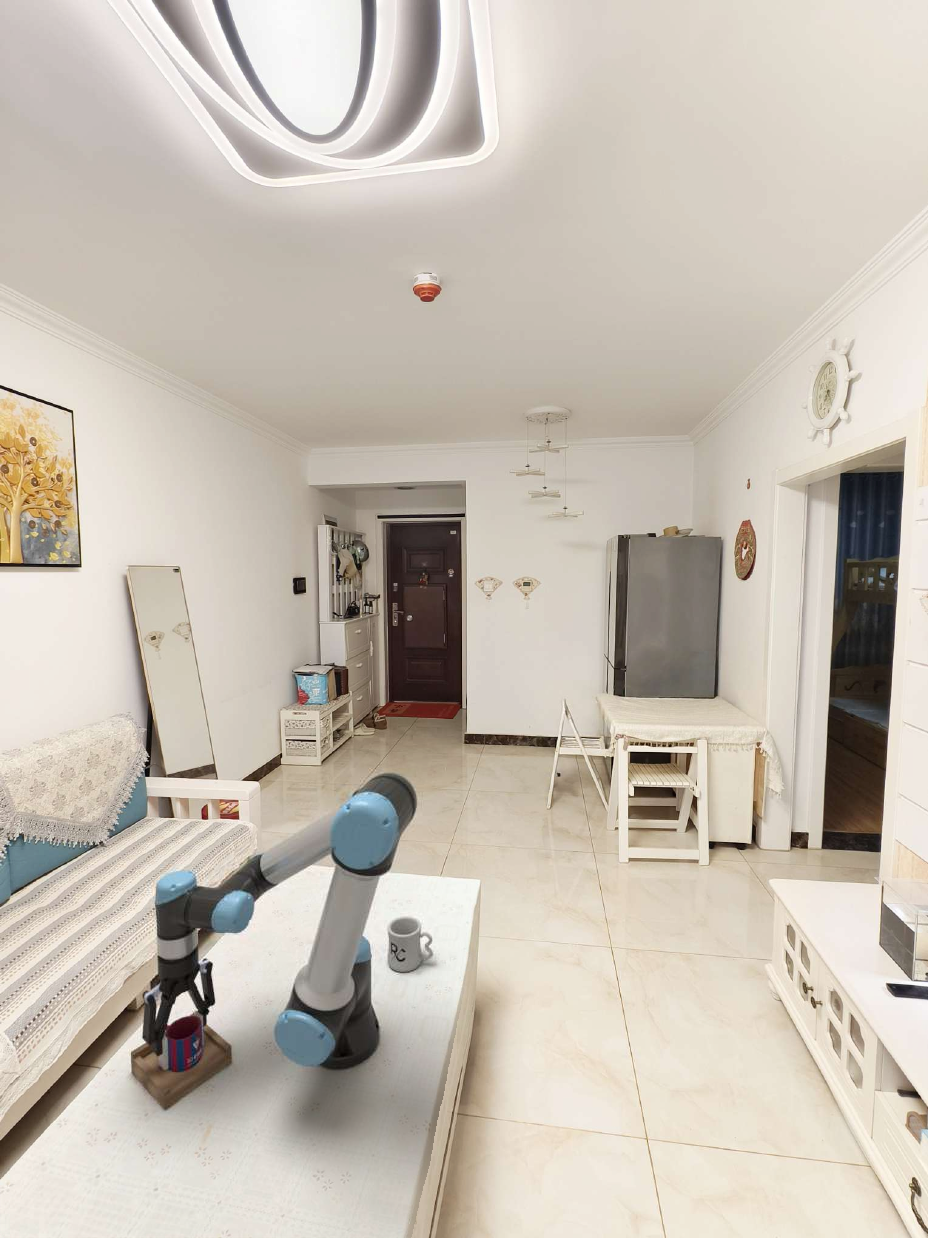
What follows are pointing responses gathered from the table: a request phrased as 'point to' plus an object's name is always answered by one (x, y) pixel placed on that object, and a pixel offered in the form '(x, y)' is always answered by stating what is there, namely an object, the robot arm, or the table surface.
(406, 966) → the mug
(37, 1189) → the table surface
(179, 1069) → the cup
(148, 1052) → the tan flat rimmed tray
